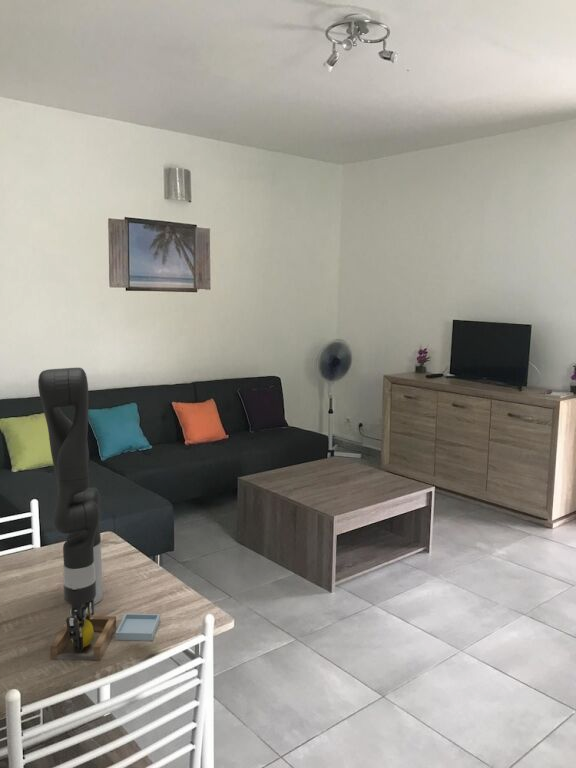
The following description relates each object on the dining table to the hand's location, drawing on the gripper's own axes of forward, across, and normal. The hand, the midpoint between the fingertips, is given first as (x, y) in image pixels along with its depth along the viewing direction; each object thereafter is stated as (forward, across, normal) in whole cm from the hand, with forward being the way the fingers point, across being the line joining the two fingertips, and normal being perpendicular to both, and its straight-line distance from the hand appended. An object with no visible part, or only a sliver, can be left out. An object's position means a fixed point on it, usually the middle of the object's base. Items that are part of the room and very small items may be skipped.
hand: (82, 642), depth 158 cm
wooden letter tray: (+1, -2, 0) cm, 2 cm away
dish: (+1, -8, +12) cm, 15 cm away
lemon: (+2, 0, 0) cm, 2 cm away
